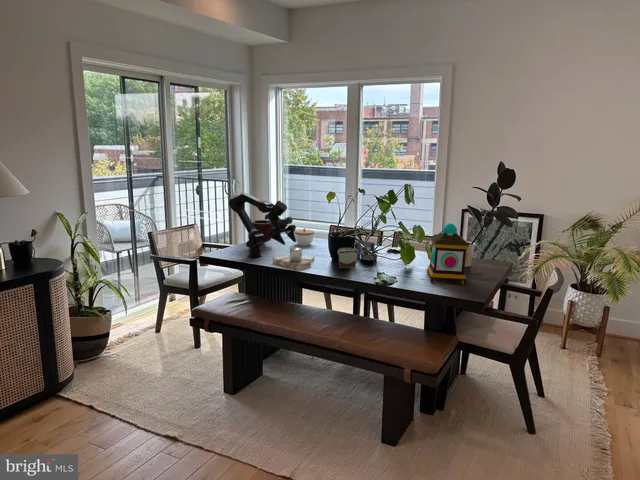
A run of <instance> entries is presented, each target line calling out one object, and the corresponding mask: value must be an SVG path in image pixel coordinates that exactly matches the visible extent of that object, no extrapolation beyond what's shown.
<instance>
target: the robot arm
mask: <svg viewBox="0 0 640 480" xmlns="http://www.w3.org/2000/svg"><path fill="white" fill-rule="evenodd" d="M246 203H247V204H250V205H252V206H254V207H256V208H257V209H258V211H259V212H260V213H262V214H264V220H269V221H270V222H271V224H272V225H271V227H274V228H273V229H272V230H271V231H270V232H269V233H268V236H269V238H271V239H272V240H274V241H276V242H278V243H280V244H282V245H283V246H285V245H286V242H285V240H284V238H283V237H282V233H285V234H286V236H287V237H288V238H289V239H291V241H292V242H293V243H297V242H296V239H295V231H296V230H297V226H296V225H295V224H292V223H293V221H294V220H293V218H292V217H291V216H287V217H286V218H284V219H283V218H280V217H281V216H282V215H283V214H285V212H286V211H287V209H288V207H287V204H285V203H284V202H282V201H281V200H277V201H276V202H275V204H274V203H273V202H272V201H267V200H261V199H259V198H257V197H255V196H253V195H252V194H250V193H247V192H246V193H245V192H243V193H240V194H239V195H236V196H235V197H233V198H230V199H229V202H228V206H229V207H230V209H231V211H233V212H235V213H236V214H237V216H238V217H239V219H240V221H241V223H242V224H243V226H244V228H245V229H246V231H247V234H248V235H247V237H248V241H246V243H245V245H246V248H248V255H247V257H248V258H252V259H256V258H261V257H263V256H262V255H261V250H260V247H259V246H262V245H263V242H264V235H263V234H262V232H261V230H256V229H255V227H254V225H253V223H252V222H253V221H252V220H251V218H250V216H249V214H248V213H247V210H246V207H245V206H246V205H245V204H246Z"/></svg>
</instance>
